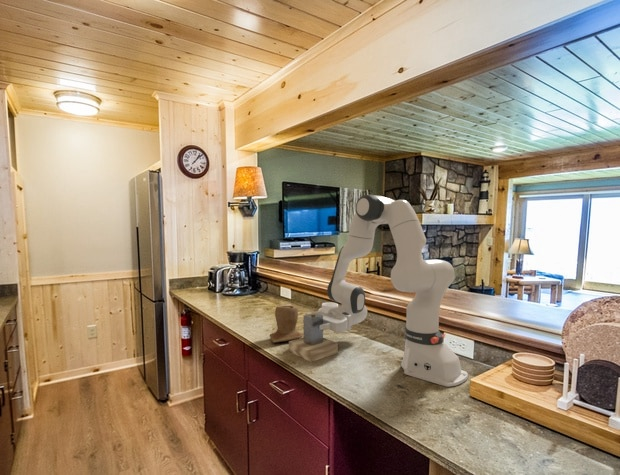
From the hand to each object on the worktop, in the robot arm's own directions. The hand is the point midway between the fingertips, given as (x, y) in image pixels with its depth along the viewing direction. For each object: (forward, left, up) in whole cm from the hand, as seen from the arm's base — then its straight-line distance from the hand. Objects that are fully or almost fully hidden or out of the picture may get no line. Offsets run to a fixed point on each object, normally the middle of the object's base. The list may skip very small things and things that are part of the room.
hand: (311, 324), depth 140 cm
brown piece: (+20, -1, -12) cm, 23 cm away
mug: (+24, -30, -12) cm, 40 cm away
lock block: (0, -1, -7) cm, 8 cm away
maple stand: (0, -1, -11) cm, 12 cm away
